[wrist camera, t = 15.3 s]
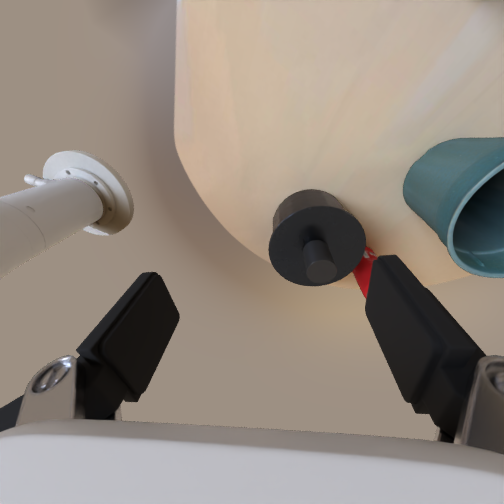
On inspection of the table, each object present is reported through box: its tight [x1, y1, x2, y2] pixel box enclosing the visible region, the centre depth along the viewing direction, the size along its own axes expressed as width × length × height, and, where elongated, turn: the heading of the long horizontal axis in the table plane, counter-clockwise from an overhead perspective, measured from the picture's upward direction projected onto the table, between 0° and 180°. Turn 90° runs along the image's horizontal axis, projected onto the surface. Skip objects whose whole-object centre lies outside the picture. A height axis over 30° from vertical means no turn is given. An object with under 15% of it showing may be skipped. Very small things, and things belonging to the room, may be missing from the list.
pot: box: [273, 189, 345, 231], centre depth 38 cm, size 14×14×10 cm
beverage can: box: [352, 247, 378, 299], centre depth 40 cm, size 5×5×12 cm
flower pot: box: [403, 137, 504, 278], centre depth 29 cm, size 16×16×16 cm
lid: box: [269, 205, 366, 286], centre depth 32 cm, size 15×15×7 cm
